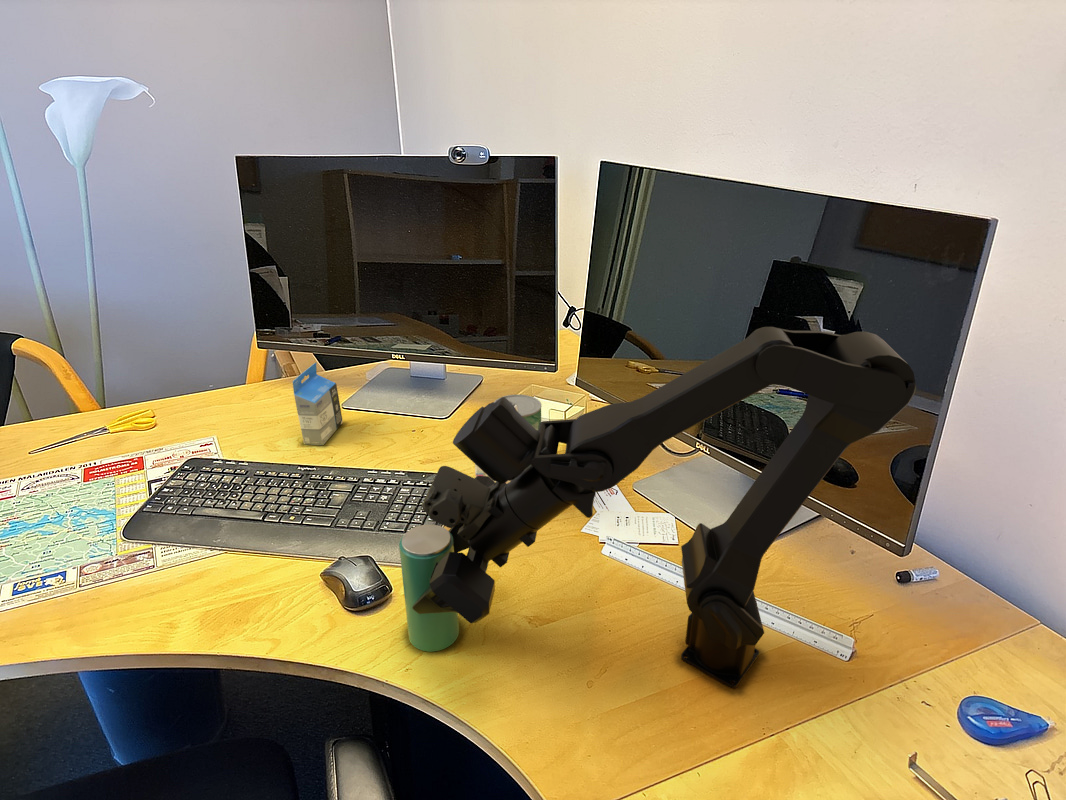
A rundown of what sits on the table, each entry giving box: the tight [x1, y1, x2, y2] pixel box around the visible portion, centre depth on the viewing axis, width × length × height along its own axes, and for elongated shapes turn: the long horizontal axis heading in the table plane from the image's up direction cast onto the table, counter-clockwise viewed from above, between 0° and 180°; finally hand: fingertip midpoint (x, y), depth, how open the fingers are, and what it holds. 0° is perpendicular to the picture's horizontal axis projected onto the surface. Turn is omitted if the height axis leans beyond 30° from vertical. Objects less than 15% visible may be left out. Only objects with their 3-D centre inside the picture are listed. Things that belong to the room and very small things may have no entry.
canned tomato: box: [493, 394, 543, 468], centre depth 110 cm, size 8×8×11 cm
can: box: [398, 524, 460, 653], centre depth 75 cm, size 6×6×13 cm
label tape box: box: [291, 361, 344, 446], centre depth 120 cm, size 9×4×12 cm, turn 171°
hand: (426, 581), depth 75 cm, fingers open, 9 cm apart
